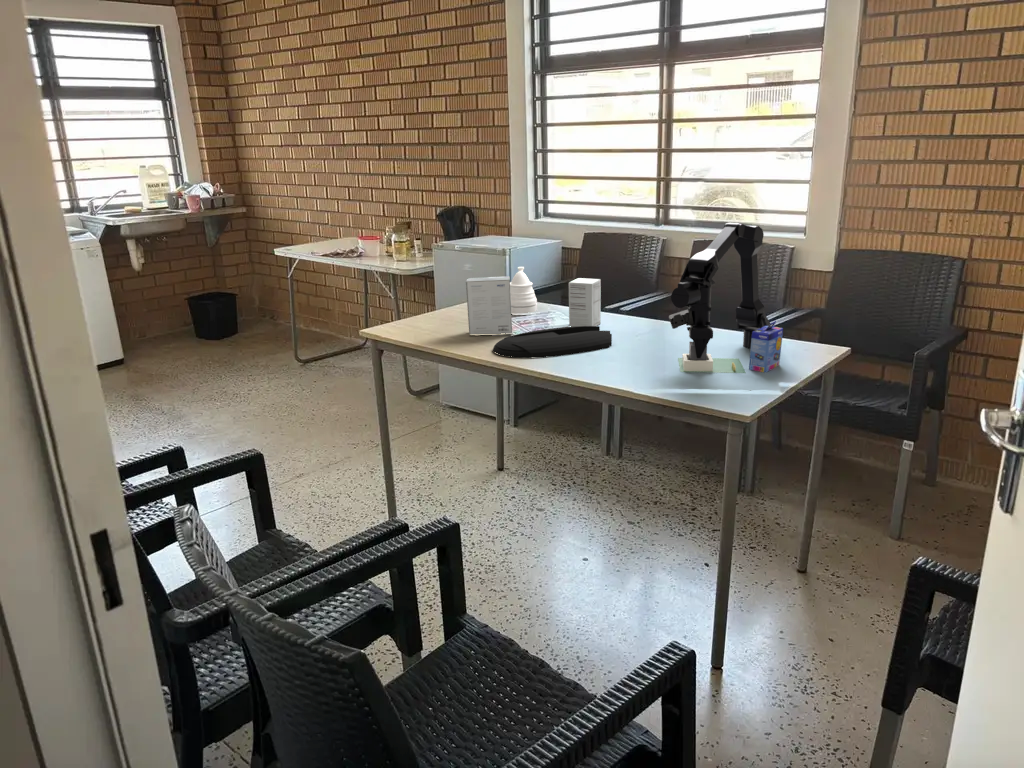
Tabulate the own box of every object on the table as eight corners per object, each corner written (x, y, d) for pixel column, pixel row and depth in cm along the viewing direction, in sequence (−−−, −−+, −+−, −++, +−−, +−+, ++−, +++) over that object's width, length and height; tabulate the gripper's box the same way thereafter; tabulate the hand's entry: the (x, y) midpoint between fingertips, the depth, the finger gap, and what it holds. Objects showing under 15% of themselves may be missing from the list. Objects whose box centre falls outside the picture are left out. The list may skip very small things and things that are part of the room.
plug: (688, 361, 221) (689, 339, 219) (704, 361, 220) (705, 339, 218) (690, 365, 217) (690, 343, 215) (706, 365, 216) (707, 343, 214)
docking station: (481, 346, 255) (481, 332, 254) (588, 332, 269) (588, 319, 268) (508, 364, 233) (508, 349, 232) (623, 348, 247) (623, 333, 246)
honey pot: (508, 309, 311) (506, 265, 306) (539, 309, 309) (538, 265, 304) (502, 315, 299) (501, 270, 294) (535, 316, 297) (533, 270, 292)
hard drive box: (512, 330, 275) (510, 276, 269) (512, 335, 267) (510, 279, 261) (470, 331, 275) (467, 277, 269) (468, 336, 268) (465, 281, 262)
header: (682, 363, 223) (682, 353, 222) (710, 363, 222) (710, 353, 221) (683, 371, 215) (684, 361, 215) (712, 371, 214) (713, 361, 213)
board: (677, 361, 229) (677, 353, 228) (738, 361, 226) (739, 353, 226) (680, 375, 215) (680, 367, 214) (745, 376, 212) (746, 367, 211)
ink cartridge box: (766, 376, 212) (769, 325, 207) (747, 372, 215) (750, 323, 211) (780, 368, 219) (784, 319, 214) (762, 365, 222) (765, 317, 218)
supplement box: (578, 322, 284) (577, 277, 279) (601, 323, 280) (601, 278, 275) (568, 327, 276) (568, 281, 271) (592, 329, 272) (592, 283, 267)
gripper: (669, 295, 223) (668, 346, 228) (672, 309, 205) (670, 364, 210) (708, 295, 221) (705, 347, 226) (714, 309, 204) (711, 364, 208)
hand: (697, 355), depth 218 cm, fingers open, 5 cm apart
